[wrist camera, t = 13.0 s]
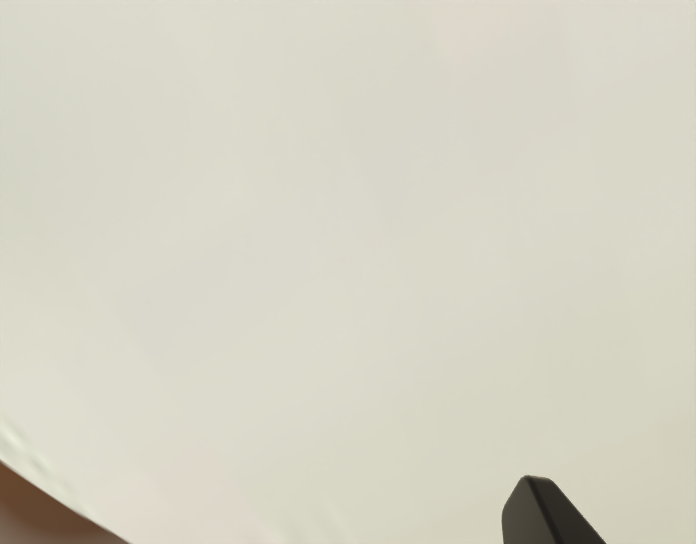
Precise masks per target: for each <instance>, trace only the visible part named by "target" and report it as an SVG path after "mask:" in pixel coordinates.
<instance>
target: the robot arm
mask: <svg viewBox="0 0 696 544" xmlns="http://www.w3.org/2000/svg"><path fill="white" fill-rule="evenodd" d="M502 531H503V543H504V544H606V543H605V541H604V540H603V539H602V538H601V537H600V535H599V534H598V533H597V532H596V531H595V530H594V528H593V527H592V526H591V525H590V524H589V523H588V521H587V520H586V519H585V518H584V517H583V516H582V514H581V513H580V512H579V511H578V510H577V509H576V507H575V506H574V505H573V504H572V503H571V501H570V500H569V499H568V498H567V497H566V496H565V494H564V493H563V492H562V491H561V490H560V489H559V487H558V486H557V485H556V484H555V483H554V482H553V481H552V480H550V479H548V478H545V477H538V476H530V475H525V476H524V477H522V478H521V479H520V480H519V482H518V484H517V485H516V487H515V489H514V490H513V492H512V494H511V495H510V497H509V499H508V500H507V502H506V504H505V506H504V508H503V512H502Z"/></svg>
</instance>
